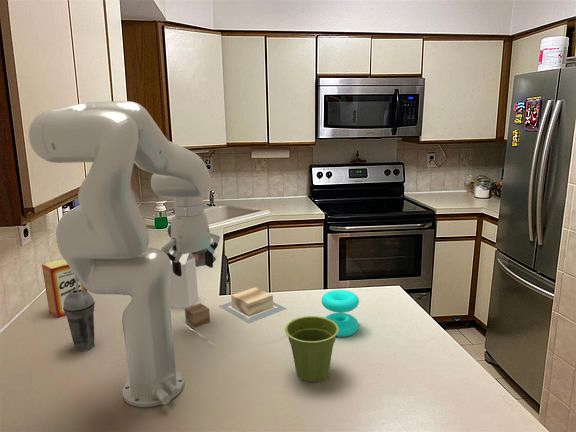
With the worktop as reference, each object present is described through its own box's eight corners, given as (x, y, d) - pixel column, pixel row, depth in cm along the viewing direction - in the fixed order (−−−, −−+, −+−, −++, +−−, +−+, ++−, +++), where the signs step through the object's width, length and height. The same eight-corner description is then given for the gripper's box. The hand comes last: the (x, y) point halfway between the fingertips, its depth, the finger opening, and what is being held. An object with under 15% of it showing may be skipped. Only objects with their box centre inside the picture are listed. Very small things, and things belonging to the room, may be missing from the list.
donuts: (366, 295, 112) (341, 306, 106) (366, 330, 114) (341, 342, 108) (339, 285, 120) (313, 295, 114) (339, 318, 122) (314, 329, 116)
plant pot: (275, 374, 95) (273, 328, 93) (310, 354, 103) (310, 311, 101) (314, 397, 87) (313, 347, 84) (349, 373, 95) (349, 327, 92)
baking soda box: (80, 302, 138) (73, 255, 135) (89, 307, 134) (82, 259, 130) (49, 312, 131) (41, 263, 128) (57, 318, 127) (50, 267, 123)
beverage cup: (66, 356, 105) (54, 280, 101) (72, 342, 112) (62, 271, 108) (97, 351, 107) (87, 277, 103) (102, 338, 114) (92, 267, 110)
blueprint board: (286, 311, 127) (286, 308, 127) (248, 325, 119) (248, 322, 118) (255, 295, 139) (255, 293, 139) (219, 308, 130) (218, 305, 130)
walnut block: (210, 324, 120) (209, 308, 119) (194, 330, 117) (193, 313, 116) (201, 318, 124) (200, 303, 123) (186, 324, 121) (184, 308, 120)
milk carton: (189, 310, 129) (184, 251, 125) (167, 309, 131) (162, 250, 127) (198, 301, 136) (194, 244, 132) (178, 300, 138) (173, 244, 134)
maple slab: (273, 307, 128) (272, 295, 127) (248, 316, 123) (248, 303, 122) (255, 298, 135) (255, 287, 134) (231, 307, 129) (231, 294, 128)
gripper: (210, 204, 122) (214, 260, 125) (152, 213, 111) (158, 275, 115) (224, 207, 116) (227, 266, 120) (164, 218, 105) (171, 282, 109)
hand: (194, 270), depth 117 cm, fingers open, 9 cm apart
